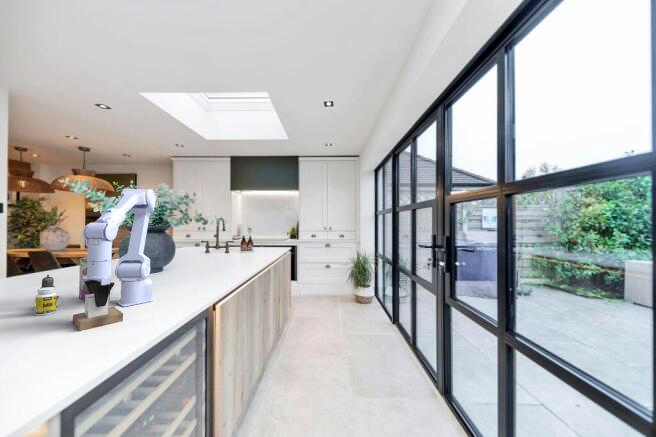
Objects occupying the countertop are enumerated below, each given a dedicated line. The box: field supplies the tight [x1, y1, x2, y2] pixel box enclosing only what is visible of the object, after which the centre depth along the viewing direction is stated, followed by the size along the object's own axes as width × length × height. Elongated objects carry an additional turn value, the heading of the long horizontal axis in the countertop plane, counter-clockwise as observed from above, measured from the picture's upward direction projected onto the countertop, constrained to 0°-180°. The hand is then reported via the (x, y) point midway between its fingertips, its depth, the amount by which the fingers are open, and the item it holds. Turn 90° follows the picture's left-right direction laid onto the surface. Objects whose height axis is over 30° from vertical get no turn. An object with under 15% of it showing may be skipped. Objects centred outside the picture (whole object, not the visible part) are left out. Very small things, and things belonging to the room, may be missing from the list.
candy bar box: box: [78, 256, 111, 301], centre depth 104 cm, size 11×5×16 cm, turn 71°
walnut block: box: [72, 306, 124, 332], centre depth 82 cm, size 10×10×3 cm
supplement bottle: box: [34, 286, 58, 317], centre depth 88 cm, size 5×5×8 cm
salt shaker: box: [34, 274, 60, 309], centre depth 94 cm, size 6×6×12 cm
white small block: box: [84, 294, 109, 318], centre depth 82 cm, size 5×5×6 cm
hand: (98, 304), depth 82 cm, fingers open, 5 cm apart
